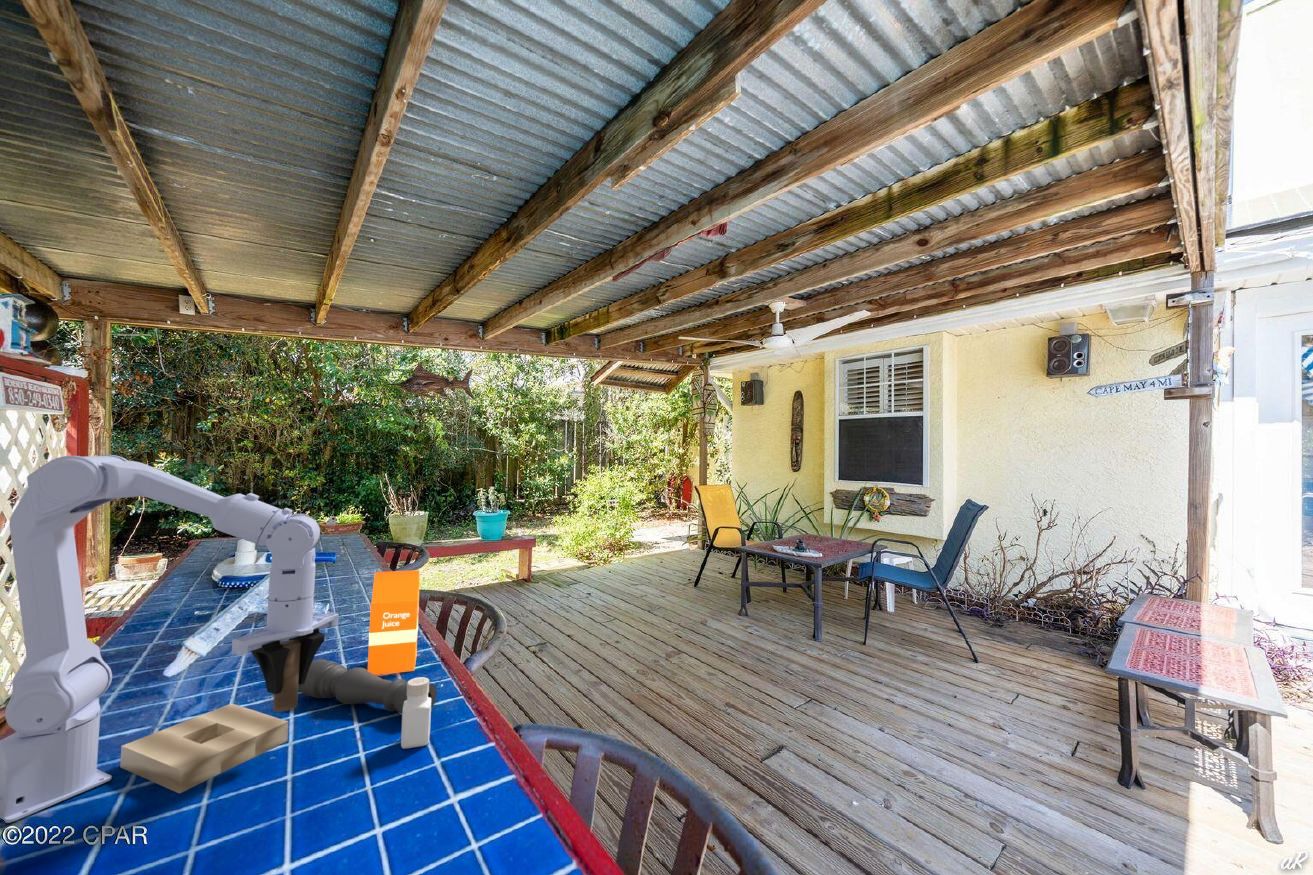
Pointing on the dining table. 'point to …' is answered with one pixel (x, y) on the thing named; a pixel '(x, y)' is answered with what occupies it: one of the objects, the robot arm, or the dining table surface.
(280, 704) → the walnut peg
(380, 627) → the orange juice
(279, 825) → the dining table surface
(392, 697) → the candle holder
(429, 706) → the pepper shaker
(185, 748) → the socket block
